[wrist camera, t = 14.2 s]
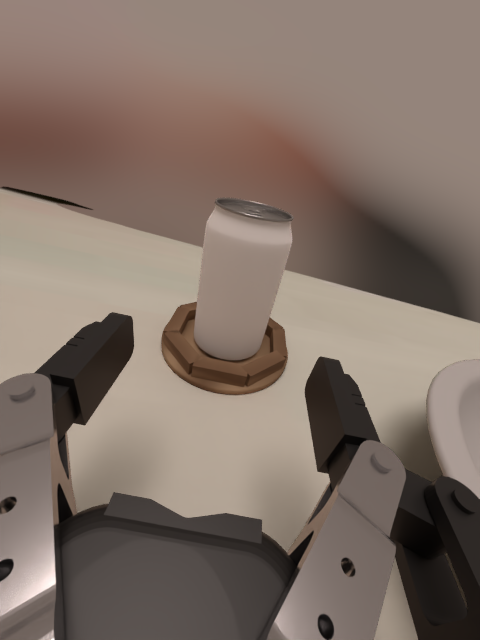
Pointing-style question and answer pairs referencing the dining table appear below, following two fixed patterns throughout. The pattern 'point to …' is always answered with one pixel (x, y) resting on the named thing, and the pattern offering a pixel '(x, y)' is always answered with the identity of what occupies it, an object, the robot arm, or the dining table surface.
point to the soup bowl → (456, 421)
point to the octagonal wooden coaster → (220, 373)
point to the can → (240, 276)
